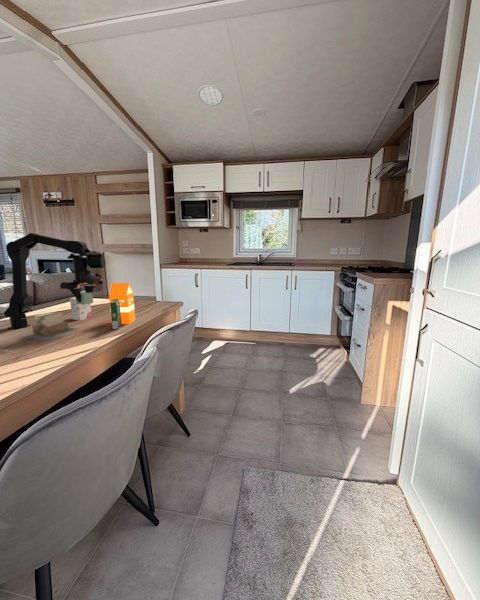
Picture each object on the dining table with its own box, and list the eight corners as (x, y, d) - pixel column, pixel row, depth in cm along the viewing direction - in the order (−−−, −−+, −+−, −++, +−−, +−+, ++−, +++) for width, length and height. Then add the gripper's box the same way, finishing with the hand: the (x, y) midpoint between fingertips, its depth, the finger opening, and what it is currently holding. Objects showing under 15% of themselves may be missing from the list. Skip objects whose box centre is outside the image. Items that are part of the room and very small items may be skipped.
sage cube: (76, 304, 127) (75, 293, 126) (85, 302, 131) (84, 292, 130) (84, 304, 125) (83, 294, 124) (93, 302, 130) (92, 292, 129)
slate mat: (19, 337, 112) (18, 336, 112) (55, 326, 127) (55, 325, 127) (47, 341, 108) (46, 340, 107) (81, 329, 123) (81, 328, 122)
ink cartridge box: (84, 316, 147) (81, 289, 144) (92, 316, 146) (89, 290, 143) (71, 320, 139) (68, 292, 136) (80, 320, 138) (76, 292, 135)
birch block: (36, 325, 114) (34, 316, 114) (51, 321, 121) (50, 312, 120) (48, 326, 112) (46, 317, 112) (63, 322, 119) (62, 313, 118)
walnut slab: (33, 334, 114) (32, 325, 114) (53, 328, 123) (52, 320, 122) (49, 336, 112) (47, 327, 111) (68, 330, 120) (67, 321, 119)
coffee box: (118, 329, 123) (116, 301, 120) (112, 330, 122) (109, 302, 119) (122, 325, 130) (119, 298, 128) (115, 325, 130) (113, 298, 127)
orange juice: (129, 324, 132) (125, 283, 128) (111, 324, 132) (107, 283, 128) (135, 319, 139) (132, 281, 136) (118, 319, 140) (115, 281, 136)
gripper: (76, 270, 114) (80, 306, 117) (110, 267, 131) (112, 298, 134) (57, 269, 117) (61, 304, 120) (92, 267, 135) (95, 297, 138)
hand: (84, 301), depth 128 cm, fingers closed on sage cube, 5 cm apart
